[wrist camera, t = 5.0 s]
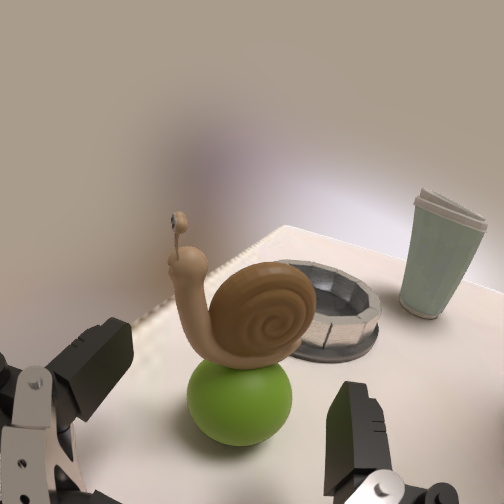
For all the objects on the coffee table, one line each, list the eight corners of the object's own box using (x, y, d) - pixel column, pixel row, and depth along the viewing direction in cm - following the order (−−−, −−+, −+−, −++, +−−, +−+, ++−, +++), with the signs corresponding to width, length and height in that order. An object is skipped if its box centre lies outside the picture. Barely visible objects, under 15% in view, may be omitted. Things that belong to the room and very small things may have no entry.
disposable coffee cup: (456, 313, 32) (492, 214, 27) (440, 340, 25) (491, 212, 20) (400, 283, 39) (428, 190, 34) (370, 300, 32) (406, 181, 27)
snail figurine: (164, 394, 15) (168, 196, 11) (260, 386, 17) (306, 209, 13) (177, 469, 10) (176, 244, 6) (292, 450, 13) (382, 254, 9)
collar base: (339, 285, 35) (346, 262, 34) (400, 353, 23) (414, 325, 21) (232, 279, 32) (236, 252, 31) (257, 367, 19) (266, 332, 18)
